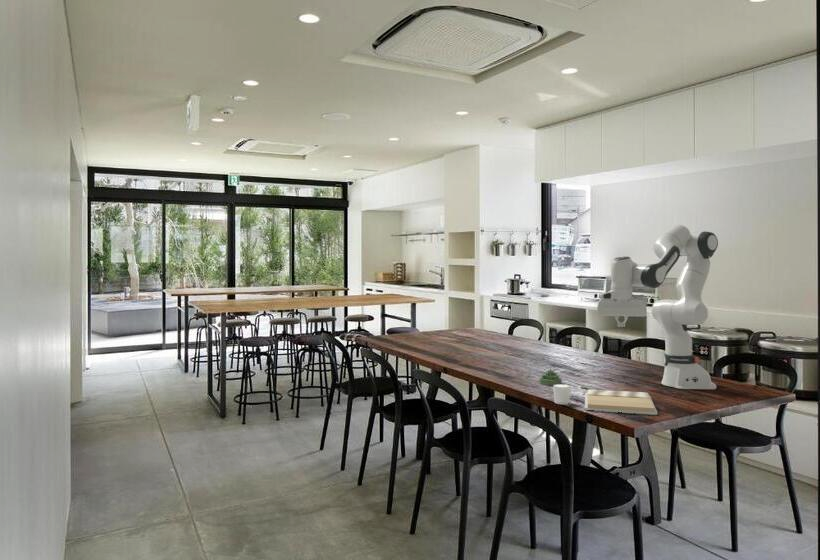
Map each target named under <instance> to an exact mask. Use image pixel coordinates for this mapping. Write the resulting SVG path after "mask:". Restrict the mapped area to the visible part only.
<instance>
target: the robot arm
mask: <svg viewBox="0 0 820 560" xmlns="http://www.w3.org/2000/svg"><path fill="white" fill-rule="evenodd" d="M652 246H653V248H652V250H653V252H654V254H655V255H656V257H657V258H658V261H657V262H655V263H651V264H649V263H648V264H641V263H639V264H638V263H636V262H635V261H633V260H632V258H631V257H630V256H619V257H615V258H613V259H612V261H611V264H610V280H611V285H610V290H607V291H604V292H601V293H599V298H600V299H599V300H598V302H597V307H596V314H597V316H598V317H614V319H615V321H616V322H617V327H618V328H621V327H623V328H625V327H626V323H627V320H628V319H629V317H643V318H644V317H646V316H647V315H648V311H647V310H648V309H647V305H648V297H647V296H646V295H644V294H633V287H638V288H639V287H645V288H653V289H657V288H659V287H661V286H662V284H663V283H664V282H665V279H666V277H667V275H669V273H670V271H671V270H672V268H673V267H674V265H675V264H676V263H677V262H678V260H679V258H680V257H686V262H685V264H684V265H683V268H682V270H681V271H680V275H678V276H679V277H678V279H677V282H676V283H675V287H676V291H677V292H678V293H679V294H681V297H680V299H669V298H665V299H661V300H656V301H655V302H654V303H653V304H652V306H651V315H652V317H653V319H654V320H655V321H657V323H658V324H659V326H660V328H661V329H662V331H663V335H664V343H665V345H664V346H665V349H664V350H665V352H664V355H663V365H664V370H663V376H662V379H661V384H662V385H663V386H667V387H672V388H675V389H678V390H679V389H680V390H716V389H717V385H716V383H714V381H713V382H712V379H711V375H710V373H709V372H708V371H707V370H706V369H705V368H703V367H702V366H701V365H699V364H698V363H697V362H699V361H700V358H699V356H696V355H694V354H693V339H692V337H691V336H692V335H690V334H689V333H687V332H686V331H685V329H684V327H683V325H685V326H698V325H703V324H705V322H706V321H707V319H708V316H709V311H708V308H707V306H706V305H705V304H704V302H703V300H702V293H703V289H704V287H705V285H706V281H707V279H708V276H709V273H710V268H711V260H710V258H711V257H713V256H714V254H715V252H716V251H717V249H718V246H719V240H718V238H717V235H716V234H715V233H714V232H711V231H692V232H691V231H690V230H689V229H688V227H686V226H684V225H682V224H676V225H674V226H672V227H669V228H668V229H666V230H665V231H664V232H663V233H661V234H660V235H659V236H658V237H657V238H656V240H655V241H653V245H652ZM619 317H623V318H624V321H619Z"/></svg>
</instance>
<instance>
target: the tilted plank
mask: <svg viewBox="0 0 820 560" xmlns="http://www.w3.org/2000/svg"><path fill="white" fill-rule="evenodd" d="M586 393H587V398H588V395H594V396H612V397H630V398H648V399H650V397H651V395H650V394H649V392H643V391H627V390H626V391H625V390H609V389H608V390H606V389H587V392H586Z"/></svg>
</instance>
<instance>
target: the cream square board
mask: <svg viewBox="0 0 820 560" xmlns="http://www.w3.org/2000/svg"><path fill="white" fill-rule="evenodd" d="M587 410H594V411H593V412H602V411H603V412H606V413H618V412H620V413H621V412H622V413H621V414H634V413H635V414H637V415H651V416H652V415H653V416H657V415H658V413H659V412H658V410H657V408H656V406H655V403H654V401H653V399H652V397H651V396H650V399H648V398H630V397H612V396H594V395H588V398H587V392H584V411H587Z"/></svg>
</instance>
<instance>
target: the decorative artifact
mask: <svg viewBox="0 0 820 560" xmlns="http://www.w3.org/2000/svg"><path fill="white" fill-rule="evenodd" d="M562 380H563V379H562V377H561V376H559V375H558V374H557V372H554V370H552V368H549V370H547V372H545V373H544V374H543V373H541V376H539V384H541V385H542V386H547V385H549V386H550V387H553V385H556V384H562V383H563V382H562Z"/></svg>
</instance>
